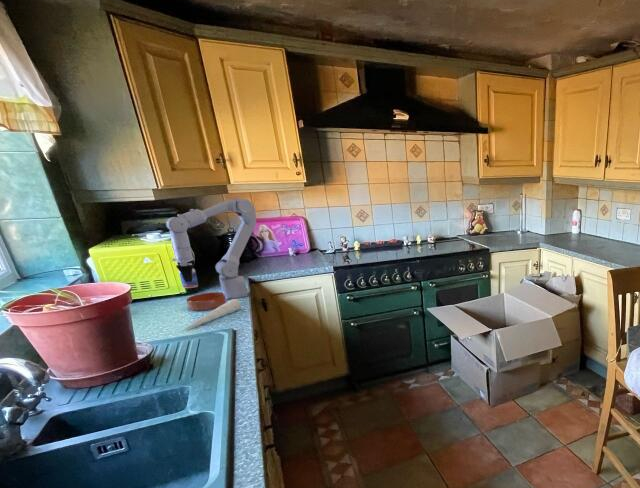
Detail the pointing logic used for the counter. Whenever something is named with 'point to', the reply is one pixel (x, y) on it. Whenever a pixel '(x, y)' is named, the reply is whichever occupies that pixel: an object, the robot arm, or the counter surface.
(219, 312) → the unicorn horn
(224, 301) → the bowl
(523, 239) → the counter surface
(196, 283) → the pill bottle
